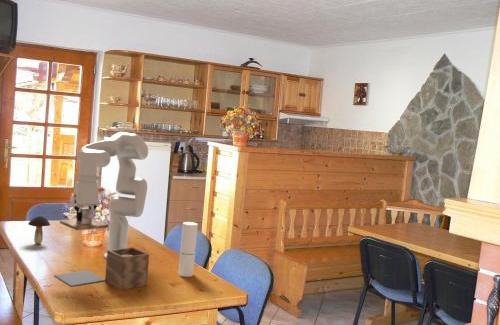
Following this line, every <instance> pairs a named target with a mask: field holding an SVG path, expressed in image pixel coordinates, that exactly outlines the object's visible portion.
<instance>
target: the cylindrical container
mask: <svg viewBox="0 0 500 325" xmlns="http://www.w3.org/2000/svg"><path fill="white" fill-rule="evenodd" d="M198 226H199V225H198V223H197V222H193V221H185V222H184V221H183V222H182V229H181V230H182V231H181V238H180V239H181V241H180V251H179V252H180V253H179V260H178V261H179V262H178V263H179V265H178V276H180V277H186V278H187V277H193V276H194V272H195V271H194V270H195V259H196V258H195V256H196V247H197V236H198V228H199V227H198Z"/></svg>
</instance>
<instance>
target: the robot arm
mask: <svg viewBox="0 0 500 325" xmlns="http://www.w3.org/2000/svg"><path fill="white" fill-rule="evenodd" d="M148 155H149V148H148V145H147V143H146V142H145V141H144V139H143V138H142V137H141V136H140V135H139V134H137V133H134V132H133V133H131V132H122V131H120V132H116V133H114V134H113V135H111V136H110V137H108V138H106V139H104V140H100V141H97V142H92V143H89V144H86V145H85V146H83V147H81V149H80V150H78V153H77V155H76V159H77V160H76V161H77V162H78V163H79V165H78V166H79V167H78V178H77V181H75V184H74V187H73V193H72V200H71V202H70V203H69V206H70V207H72V208H73V209H74V211H75V212H76V217H75V218H76V219H77V221H80V222H81V221H82V212H81V210H82V208H83V206H88V209H91V210H93V212H94V211H95V210H96V209H97V207H99V206H101V202H100V200H99V185H98V182H97V181H98V180H99V178H100V177H99V176H98V175H97V173H98V168H105V167H107V166H108V165H109V164H110V162H111V157H116V158H117V161H118V164H119V168H118V174H117V179H116V183H115V184H116V185H115V190H116V193H118V194H120V195H124V196H120V195H119V196H113V197H112V198H111V199H110V200H109V203H108V210H109V225H108V228H109V229H108V239H107V240H108V241H107V250H115V249H123V248H128V236H129V220H128V219H127V217H131V218H140V217H141V216H142V215H143V212H144V210H145V204H146V198H147V192H148V182H147V180H146V179H145V178H144V177H136V174H137V173H136V172H137V167H136V166H137V165H136V164H135V162H134V160H139V161H140V160H141V161H142V160H145V159H147V157H148ZM126 196H127V197H126ZM128 196H133V197H128ZM93 212H92V216H93V215H94V214H93ZM103 257H104V258H105V259H107V252H105V253H104V254H103Z"/></svg>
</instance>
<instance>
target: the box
mask: <svg viewBox="0 0 500 325" xmlns="http://www.w3.org/2000/svg"><path fill="white" fill-rule="evenodd" d="M106 253H107V258H106V264H105V265H106V266H105V276H104V277H105V278H104V279H105V281H104V282H105V283H107V284H109V285H111V286H113V287H114V288H116V289H118V290H120V291H123V290H128V289H133V288H139V287H145V286H147V284H148V276H149V275H148V272H149V263H150V262H149V261H150V254H149V253H147V252H145V251H143V250H140V249H138V248H136V247H127V248H123V249H115V250H108V249H107V252H106ZM122 255H133V256H127V257H123V256H122Z"/></svg>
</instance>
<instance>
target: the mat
mask: <svg viewBox="0 0 500 325" xmlns="http://www.w3.org/2000/svg"><path fill="white" fill-rule="evenodd" d="M54 277H55V278H57V279H58V280H59V281H62V282H63V283H65V284H66V285H67V286H70V287H71V288H72V287H77V286H83V285H90V284H96V283H102V282H105V278H103V277H101V276H99V275H97V274H96V273H94V272H93V271H90V270H88V269H87V270H81V271H73V272H66V273H59V274H58V273H57V274H54Z"/></svg>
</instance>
